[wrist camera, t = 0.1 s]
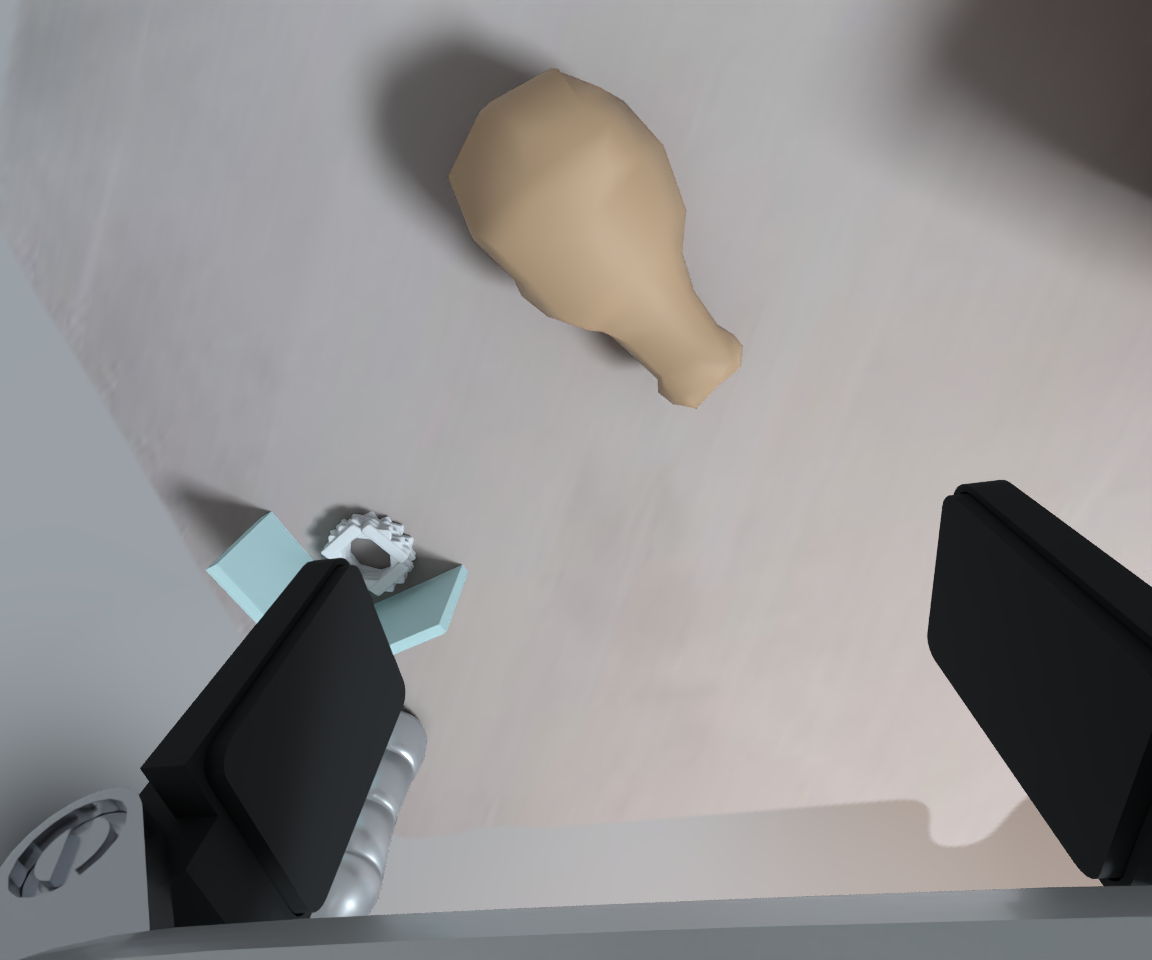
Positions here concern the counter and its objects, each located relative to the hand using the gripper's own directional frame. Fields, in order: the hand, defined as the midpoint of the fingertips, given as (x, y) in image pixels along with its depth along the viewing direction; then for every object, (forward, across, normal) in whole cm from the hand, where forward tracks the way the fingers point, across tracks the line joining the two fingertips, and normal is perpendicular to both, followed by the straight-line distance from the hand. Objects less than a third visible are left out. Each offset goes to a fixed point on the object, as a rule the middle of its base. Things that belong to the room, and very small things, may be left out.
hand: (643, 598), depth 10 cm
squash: (+32, 0, -3) cm, 32 cm away
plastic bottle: (+32, +26, +37) cm, 55 cm away
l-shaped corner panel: (+32, +23, +16) cm, 43 cm away
